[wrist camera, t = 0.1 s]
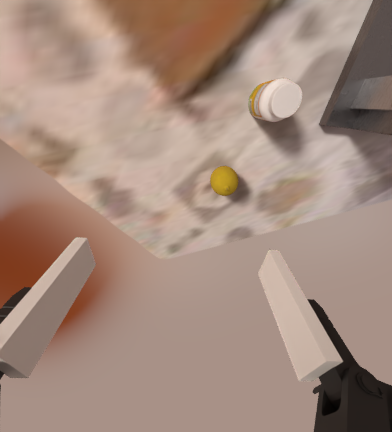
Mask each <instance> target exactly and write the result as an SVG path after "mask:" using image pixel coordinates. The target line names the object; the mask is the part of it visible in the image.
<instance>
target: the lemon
mask: <svg viewBox="0 0 392 432" xmlns="http://www.w3.org/2000/svg"><path fill="white" fill-rule="evenodd" d="M210 182H211V186H212V188H213V190H214V191H215V192H216V193H217V194H219V195H222V196H227V195H230V194H232V193H233V192H234V191H235V190H236V188H237V186H238V176H237V174H236V172H235V171H234V170H233V169H232V168H230V167H227V166H221V167H218V168H217V169H215V170H214V171H213V173H212V175H211V180H210Z"/></svg>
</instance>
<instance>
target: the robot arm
mask: <svg viewBox="0 0 392 432" xmlns="http://www.w3.org/2000/svg"><path fill="white" fill-rule="evenodd" d="M95 265H96V264H95V261H94V257H93V254H92V251H91V248H90V245H89V242H88V239H87V238H77V237H76V238H75V239H74V240H73V241H72V242H71V243H70V245H69V246H68V247H67V248H66V249H65V250H64V252H63V253H62V254H61V255H60V256H59V257H58V258H57V260H56V261H55V262H54V263H53V264H52V265H51V267H50V268H49V269H48V270H47V271H46V272H45V273H44V275H43V276H42V277H41V278H40V279H39V280H38V281H37V283H36V284H35V285H34V286H33V287H32V288H29V287H24V288H23V289H21V290H20V291H19V292H17V293H16V294H14V295H13V296H12V297H11V298H10V299H9V300H8V301H7V302H6V303H5V304H4V305H3V308H1V309H0V379H1V377H2V376H3V374H6V375H7V376H9V377H10V378H28V377H29V376H30V374H31V372H32V371H33V369H34V367H35V366H36V364H37V362H38V361H39V359H40V357H41V356H42V354H43V352H44V351H45V349H46V347H47V346H48V344H49V342H50V340H51V339H52V337H53V336H54V334H55V332H56V331H57V329H58V327H59V326H60V324H61V322H62V321H63V319H64V317H65V316H66V314H67V312H68V311H69V309H70V307H71V306H72V304H73V302H74V301H75V299H76V297H77V296H78V294H79V292H80V291H81V289H82V287H83V286H84V284H85V282H86V280H87V279H88V277H89V275H90V274H91V272H92V270H93V269H94V267H95ZM258 275H259V278H260V280H261V283H262V285H263V288H264V291H265V293H266V296H267V299H268V301H269V304H270V307H271V309H272V312H273V314H274V317H275V320H276V322H277V325H278V327H279V330H280V333H281V335H282V338H283V341H284V343H285V346H286V349H287V351H288V354H289V357H290V359H291V362H292V364H293V367H294V370H295V372H296V375H297V378H298V380H299V381H314V380H315V379H317V378H318V377H319V379H320V381H321V383H322V384H321V385H319V386H317V387H315V388H314V390H313V393H314V394H316V393H318V392H319V396H318V397H319V398H318V404H317V412H316V420H315V427H314V432H392V386H391V385H388V384H386V383H383V382H381V381H379V380H377V379H376V378H375V377H374V376H373V375H372V374H370V373H369V372H368V371H367V370H366V369H364V368H362V367H360V366H359V365H358V363H357V362H356V361H355V359H354V358H353V356H352V355H351V353H350V351H349V350H348V348H347V347H346V345H345V343H344V342H343V340H342V339H341V337H340V335H339V334H338V332H337V331H336V329H335V328H334V327H333V324H332V323H331V321H330V320H329V319H328V317H327V315H326V314H325V312H324V310H323V308H322V307H321V306H320V305H319V304H318V303H317V302H316V301H315V300H309V299H306V297H305V295H304V293H303V291H302V290H301V288H300V286H299V285H298V283H297V281H296V279H295V278H294V276H293V274H292V272H291V271H290V269H289V267H288V266H287V264H286V262H285V261H284V259H283V257H282V255H281V254H280V252H279V251H278V250H269V251H268V253H267V255H266V257H265V259H264V262H263V264H262V266H261V268H260V270H259V273H258ZM0 387H1V385H0ZM0 389H1V388H0Z"/></svg>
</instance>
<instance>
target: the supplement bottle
mask: <svg viewBox="0 0 392 432" xmlns="http://www.w3.org/2000/svg"><path fill="white" fill-rule="evenodd" d="M301 101H302V91H301V88H300V87H299V86H298V85H297V84H295V83H293V82H292V81H291V80H289V79H286V78H280V79H276V80H272V81H268V82H265V83H262V84H260V85H258V86H257V87H256V88H255V89H254V90H253V91H252V93H251V95H250V97H249V101H248V108H249V111H250V113H251V115H252V116H253V117H255V118H257V119H262V120H266V121H270V122H277V121H280V120H283V119H284V118H287V117H289V116H291V115H293V114H294V113H295V112H296V111H297V109H298V108H299V106H300V104H301Z"/></svg>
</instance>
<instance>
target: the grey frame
mask: <svg viewBox="0 0 392 432" xmlns="http://www.w3.org/2000/svg"><path fill="white" fill-rule="evenodd" d="M319 124H320V125H325V126H334V127H343V128H351V129H357V130H363V131H369V132H375V133H381V134H388V135H392V0H373V2H372V4H371V6H370V9H369V11H368V13H367V16H366V18H365V20H364V22H363V25H362V27H361V29H360V32H359V34H358V36H357V38H356V41H355V43H354V45H353V48H352V50H351V52H350V54H349V57H348V59H347V61H346V64H345V66H344V68H343V70H342V73H341V75H340V77H339V80H338V82H337V84H336V86H335V89H334V91H333V93H332V96H331V98H330V100H329V102H328V105H327V107H326V109H325V112H324V114H323V116H322V118H321V121H320V123H319Z"/></svg>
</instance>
